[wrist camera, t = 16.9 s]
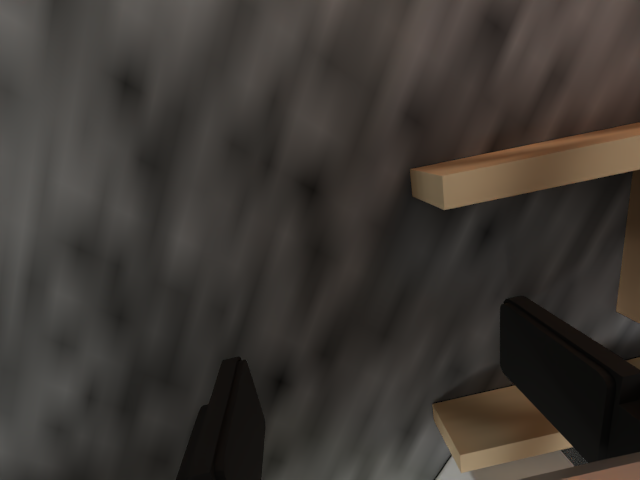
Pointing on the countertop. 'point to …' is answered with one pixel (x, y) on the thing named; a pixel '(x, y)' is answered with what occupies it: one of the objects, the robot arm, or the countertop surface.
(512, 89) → the countertop surface
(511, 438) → the bay
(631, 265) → the tan wooden block
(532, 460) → the jar
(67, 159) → the countertop surface
